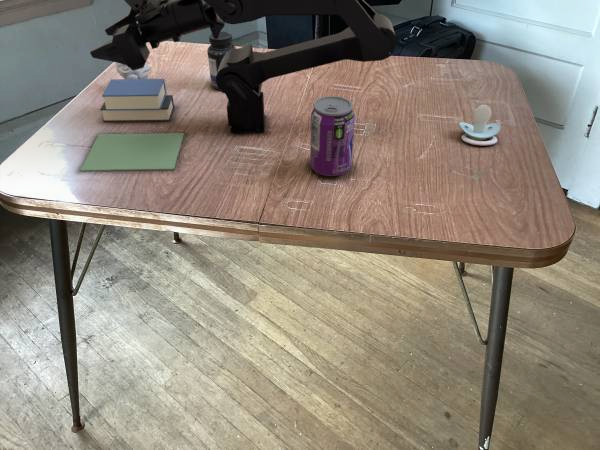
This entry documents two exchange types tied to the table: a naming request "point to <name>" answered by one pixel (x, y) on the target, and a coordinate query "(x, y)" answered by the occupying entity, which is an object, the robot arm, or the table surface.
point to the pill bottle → (218, 53)
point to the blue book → (134, 94)
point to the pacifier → (480, 128)
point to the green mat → (134, 152)
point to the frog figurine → (132, 72)
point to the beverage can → (332, 135)
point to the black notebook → (141, 113)
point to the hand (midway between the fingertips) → (99, 43)
